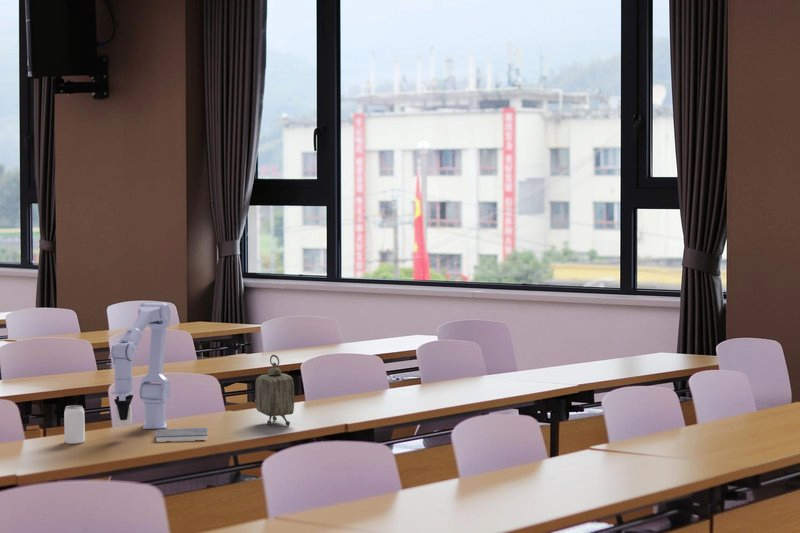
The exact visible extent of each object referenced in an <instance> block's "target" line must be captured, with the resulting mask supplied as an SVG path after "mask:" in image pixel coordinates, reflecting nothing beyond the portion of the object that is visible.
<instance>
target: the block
mask: <svg viewBox="0 0 800 533" xmlns="http://www.w3.org/2000/svg"><path fill="white" fill-rule="evenodd" d="M132 411H133V410H132V404H131V403H130V405H129V410H128V417H127V420H120V417H119V412H118V408H117V407H116V425H117V426H120V425H123V426H124V425H131V424H132V420H133V417H132V415H133V414H132Z"/></svg>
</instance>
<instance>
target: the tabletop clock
mask: <svg viewBox="0 0 800 533" xmlns="http://www.w3.org/2000/svg"><path fill="white" fill-rule="evenodd" d="M273 357H274V358H276V360H277V363H276V362H272V359H273ZM269 362H270V365H271V366H272V367H270V368H269V369H268V371H267V374H261V375H259V376H257V378H255V384H254V386H255V388H254V392H255V393H254V397H255V399H254V400H255V408H256V411H257V412H259V413H261V414H263V415H265V416H267V417H268V418H269V419H268V420H267V422H266V424H267V425H268V426H271V425H272V424H273V423H272V421H274V422H275V421H277V420H278V418H277V417H279V416H280V417H281V418H283V420H284V422H285V423H284V424H285V426H288V427H289V426H290V425H291V423H290V421H288V420H287V418H286V416H288V415H290V416H291V415H293V414H294V411H295V383H294V379H293V377H292V376H291V375H288V374H287V373H282V370H281V369H280V368H279V366H280V359H279V356H277V355H276V354H271V356H270V358H269Z"/></svg>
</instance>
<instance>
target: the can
mask: <svg viewBox="0 0 800 533" xmlns="http://www.w3.org/2000/svg"><path fill="white" fill-rule="evenodd" d="M63 416H64V417H63V418H64V419H63V421H64V422H63V424H64V427H63V428H64V443H65V444H67V445H79V444H84V443H85V441H86V438H85V437H86V432H85V431H86V429H85V428H86V427H85V426H86V425H85V424H86V423H85V422H86V421H85V409H84V408H83V405H80V404H79V405H78V404H73V405H67V406H65V409H64V414H63Z"/></svg>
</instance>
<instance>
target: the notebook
mask: <svg viewBox="0 0 800 533" xmlns="http://www.w3.org/2000/svg"><path fill="white" fill-rule="evenodd" d="M156 429H157V430H156V432H155V435H154V439H155V442H156V443H163V442H164V443H165V442H166V441H171V442H196V441H195V440H204V441H207V436H208V427H190V428H189V427H188V428H187V427H185V428H184V427H183V428H182V427H181V428H156Z"/></svg>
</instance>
